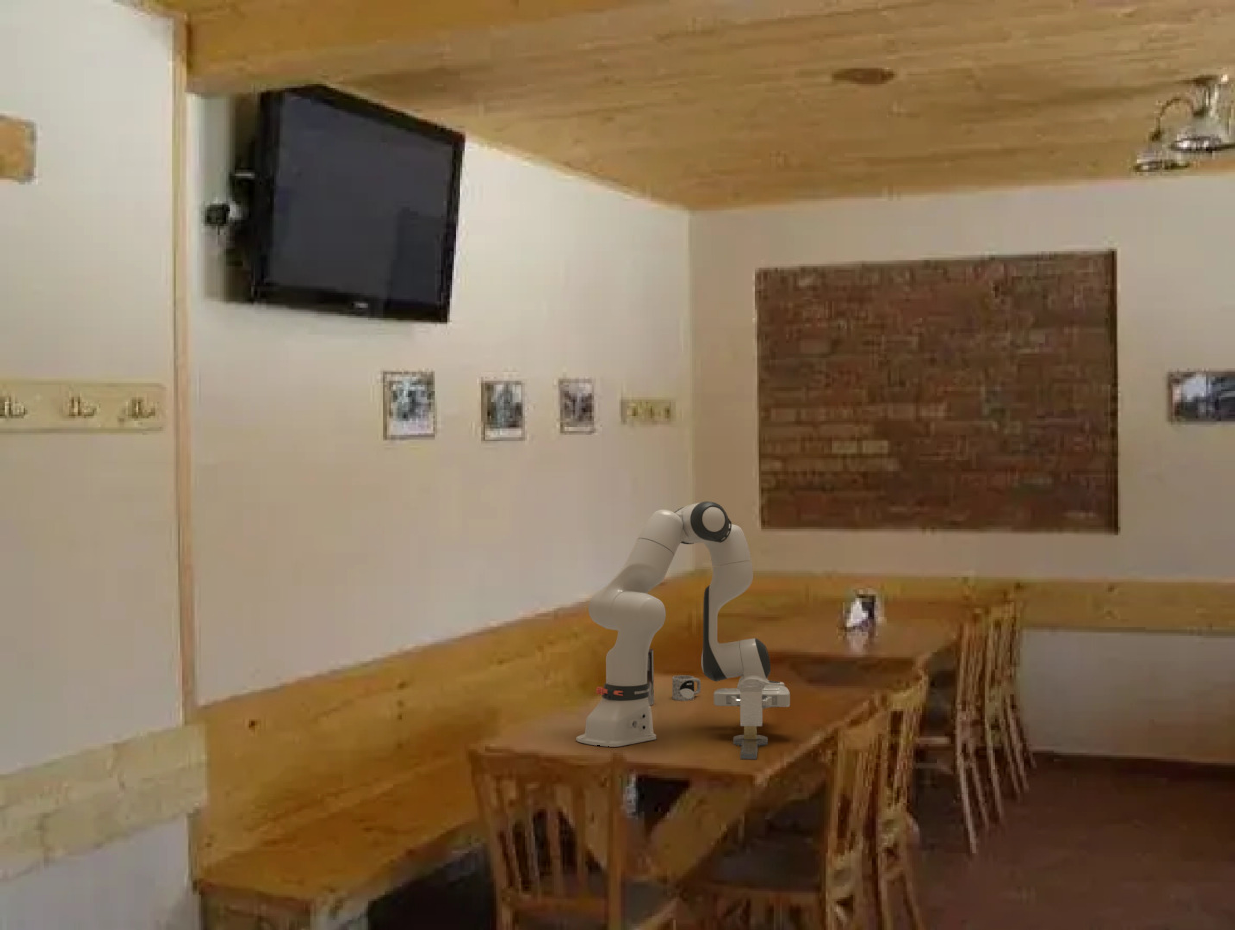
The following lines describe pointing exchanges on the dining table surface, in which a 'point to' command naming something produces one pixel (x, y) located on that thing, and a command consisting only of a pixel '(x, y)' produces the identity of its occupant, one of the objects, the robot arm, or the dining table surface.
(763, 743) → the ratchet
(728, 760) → the dining table surface
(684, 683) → the mug
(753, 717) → the upright grey pillar
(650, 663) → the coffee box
